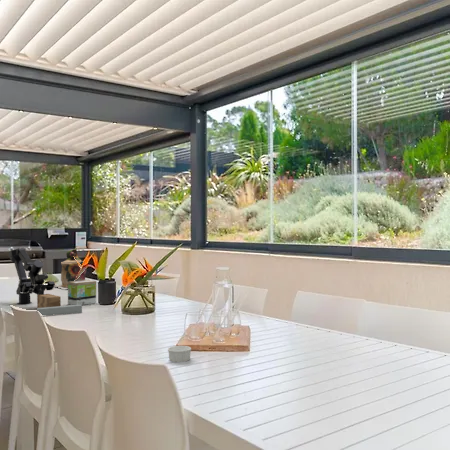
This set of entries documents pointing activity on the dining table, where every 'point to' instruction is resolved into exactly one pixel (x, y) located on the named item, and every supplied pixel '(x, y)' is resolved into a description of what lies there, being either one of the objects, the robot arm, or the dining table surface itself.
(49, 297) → the walnut block
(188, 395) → the dining table surface
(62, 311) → the gray bar
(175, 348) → the ramekin
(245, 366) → the dining table surface
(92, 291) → the tea box
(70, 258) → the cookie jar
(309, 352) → the dining table surface
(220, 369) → the dining table surface
